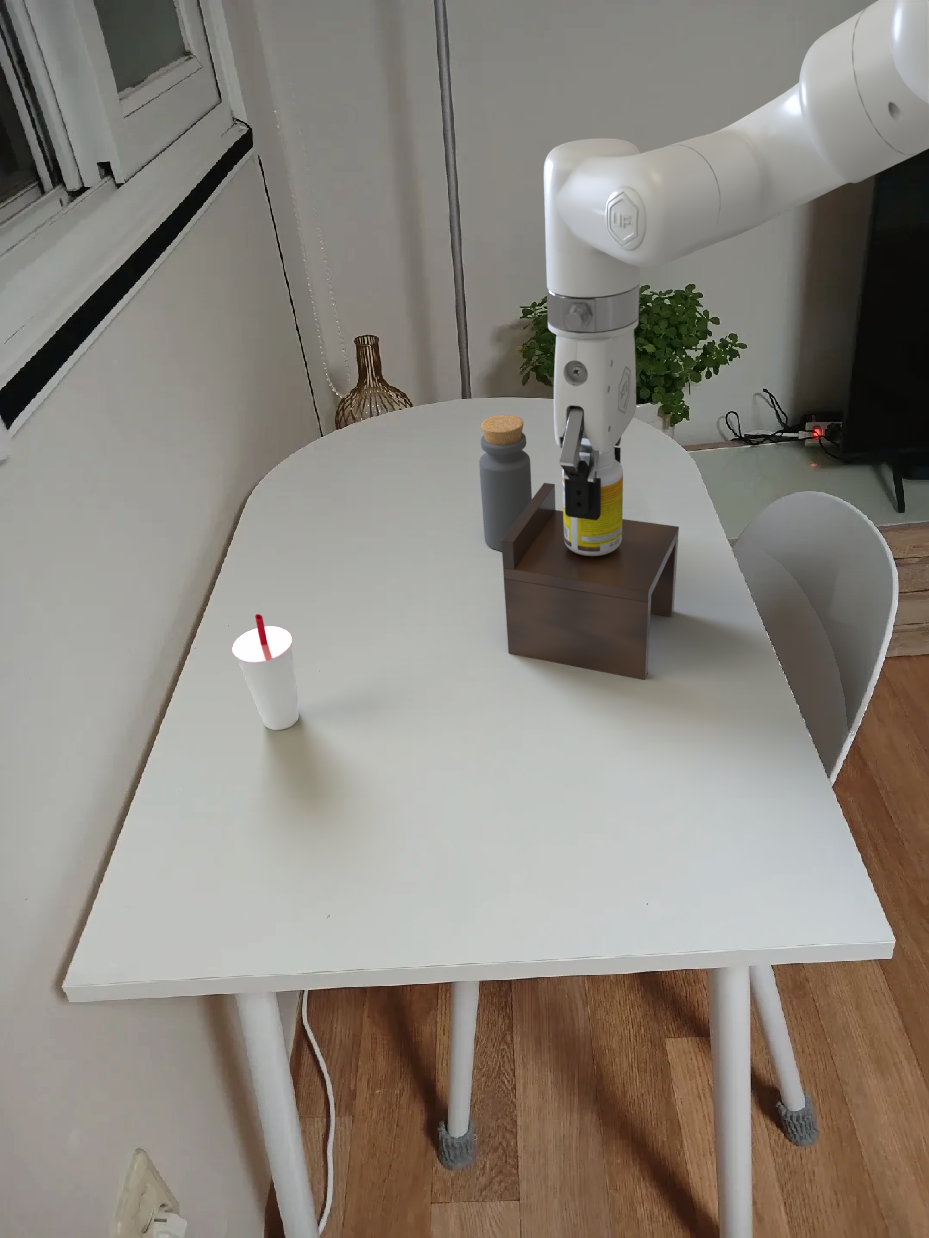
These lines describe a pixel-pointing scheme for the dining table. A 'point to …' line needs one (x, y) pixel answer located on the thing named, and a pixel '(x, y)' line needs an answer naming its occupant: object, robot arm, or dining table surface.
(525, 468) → the bottle
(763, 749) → the dining table surface
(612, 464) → the supplement bottle
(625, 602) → the shelf
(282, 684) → the cup
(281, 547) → the dining table surface
